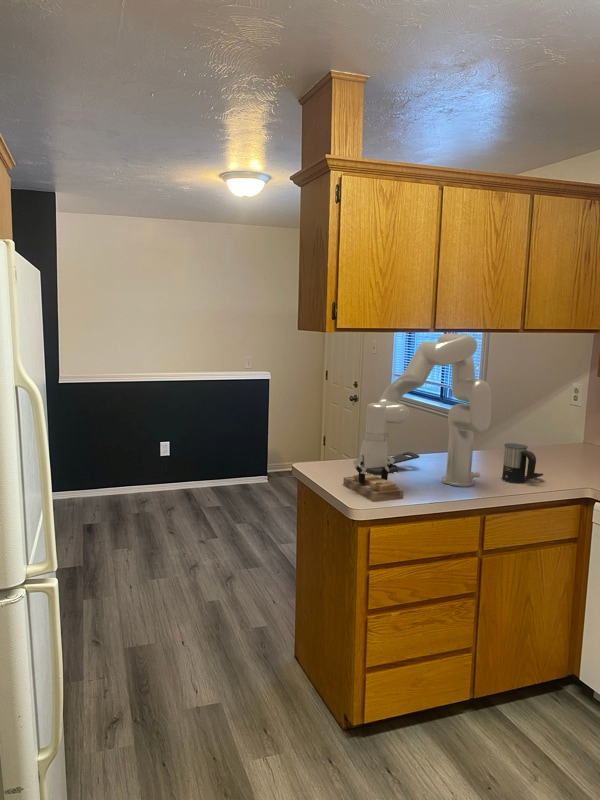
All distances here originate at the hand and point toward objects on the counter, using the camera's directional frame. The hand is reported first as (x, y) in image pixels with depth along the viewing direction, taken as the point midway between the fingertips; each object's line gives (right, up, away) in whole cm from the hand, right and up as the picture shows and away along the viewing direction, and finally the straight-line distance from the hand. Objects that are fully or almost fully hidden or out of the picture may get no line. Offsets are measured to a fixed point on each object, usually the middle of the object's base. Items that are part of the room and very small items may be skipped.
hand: (372, 482), depth 222 cm
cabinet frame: (0, -4, 0) cm, 4 cm away
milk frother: (+64, -3, +26) cm, 70 cm away
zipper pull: (+12, 0, +32) cm, 35 cm away
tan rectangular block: (0, -3, 0) cm, 3 cm away
